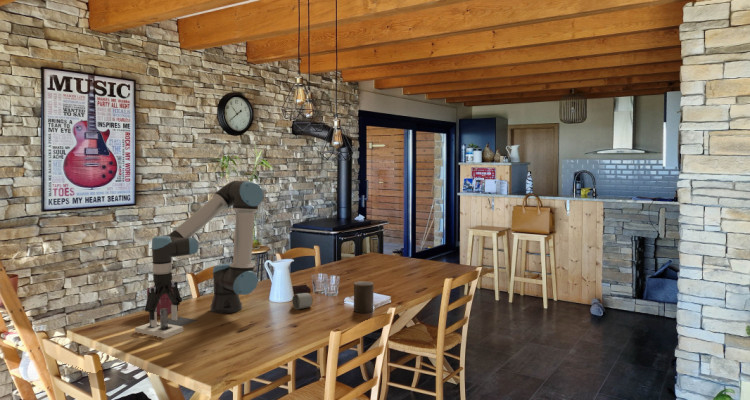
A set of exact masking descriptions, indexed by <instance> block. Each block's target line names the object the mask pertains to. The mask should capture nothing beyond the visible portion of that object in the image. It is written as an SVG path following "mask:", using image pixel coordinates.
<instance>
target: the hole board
mask: <svg viewBox="0 0 750 400" xmlns="http://www.w3.org/2000/svg"><path fill="white" fill-rule="evenodd" d="M135 332H139V333H143V334H142V335H144V334H148V335H147V336H149V335H153V336H152V337H154V336H157V337H156V338H159V337H161V338H160V339H164V340H165V339H168V338H170V337H174V336H177V335H178V334H180V333H183V332H184V326H176V325H171V324H168V330H165V331H163V330H161V325H160V321H159V322H158V321H157V327H155V328H150V322H148V323H146V324H142V325H139V326H136V327H134V333H135ZM139 333H138V334H139Z"/></svg>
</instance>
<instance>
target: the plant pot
mask: <svg viewBox="0 0 750 400" xmlns="http://www.w3.org/2000/svg"><path fill="white" fill-rule="evenodd" d="M152 287H154V285H153V286H150V287H149V288H152ZM171 290H172V286H171ZM172 293H173V292H172ZM146 297H148V288H146ZM171 305H173V303H172V302H171V300H170V299H169V297H168V295H167V294H163V295H162V296H161V297H160V299H159V302H158V305H157V316H160V309H162V308H167V313H168V315H170V314H171Z"/></svg>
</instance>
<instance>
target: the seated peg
mask: <svg viewBox="0 0 750 400" xmlns="http://www.w3.org/2000/svg"><path fill="white" fill-rule="evenodd" d="M155 312H157V307H156V310H155ZM148 314H149V313H148ZM148 317H149V318H148V319H149V323H150V328H155V327H151V320H150V314H149V316H148Z"/></svg>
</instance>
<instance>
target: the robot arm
mask: <svg viewBox="0 0 750 400" xmlns="http://www.w3.org/2000/svg"><path fill="white" fill-rule="evenodd" d="M263 200H264V189H263V188H262V187H261V185H260V184H259V183H258V182H256V181H251V180H232V181H230V182H228V183H227V184H225V185H223V186H222V187H221V188H220V189H219V190H217V191H216V192H215V193H213V195H212V198H211V199H210V200H209V201H207V202H206V203H205V204H204V205H203V206H201V207H200V208H199V209H198V210H196V211H195V212H194V213H193V214H192V215H190V217H188V218H187V219H186V220H185V221H183V222H182V223H181V224H180V225H179V226H178V227H176V228H175V229H174V230H172V231H171V232H170V233H169V234H165V235H158V236H154V237H153V238H152V240H151V254H152V273H153V275H152V278H153V286H154V287H153V286H151V287H152V288H150V287H148V288H147V289H148V297H147V296H146V297H147V298H146V304H145V307H144V311H145V312H147V313H148V314H150V320H151V327H157V322H158V315H157V312H155V310H156V307H157V305H158V302H159V299H160V297H161V296H162V295H163V294H167V295H168V297H169V299H170V300H171V302H172V303H173V305H171V313H170V314H171V318H172V320H177V316H178V311H179V306H180V304H181V303H182V302H183V300H182V297H181V293H180V289H179V288H178V286H179V285H178V281H173V273H172V271H173V268H172V266H173V265H172V264H173V263H172V258H175V257H177V258H178V257H183V256H191V255H196V254H197V253H198V251H199V242H198V239H197V238H195V237H193V236H194V235H196V233H198V232H199V231H201V229H203V228H204V227H205V226H206V225H207V224H209V222H211V221H212V220H213V219H214V218H215V217H216V216H217V215H219V214H220V213H221V212H223V210H226V211H227V210H228V209H229V208H231V207H232V208H233V210H234V211H235V224H234V237H233V238H234V239H233V241H234V242H233V254H232V262H229V263H222V264H221V263H220V264H216V265H214V266H213V268H212V277H213V279H212V280H213V282H212V283H213V297H212V300H211V305H210V312H212V313H214V314H231V313H232V314H233V313H236V312H237V313H238V312H239V311H242V309H243V304H242V302H241V299H240V295H243V296H246V295H249V294H251V293H253V291H255V289H256V288H257V285H258V281H259V279H258V275H257V274H256V273H255V265H254V264H253V263H252V257H253V256H252V254H253V241H254V226H255V213H256V212H258V210H259V205H260V204H261V203H262V202H263ZM171 286H172V290H171ZM172 292H173V293H172ZM150 320H149V321H150Z"/></svg>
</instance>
